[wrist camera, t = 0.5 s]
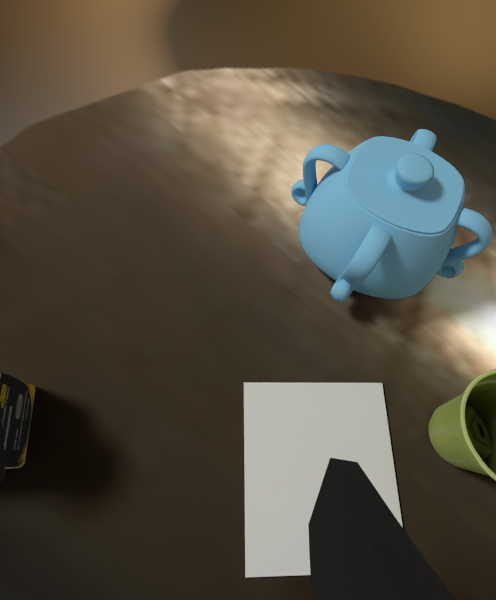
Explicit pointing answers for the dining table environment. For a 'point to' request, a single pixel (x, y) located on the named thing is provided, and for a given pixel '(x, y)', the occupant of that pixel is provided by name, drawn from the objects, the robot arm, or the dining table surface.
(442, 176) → the light blue teapot
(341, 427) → the mat
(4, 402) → the medicine bottle
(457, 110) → the dining table surface
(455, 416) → the plant pot
